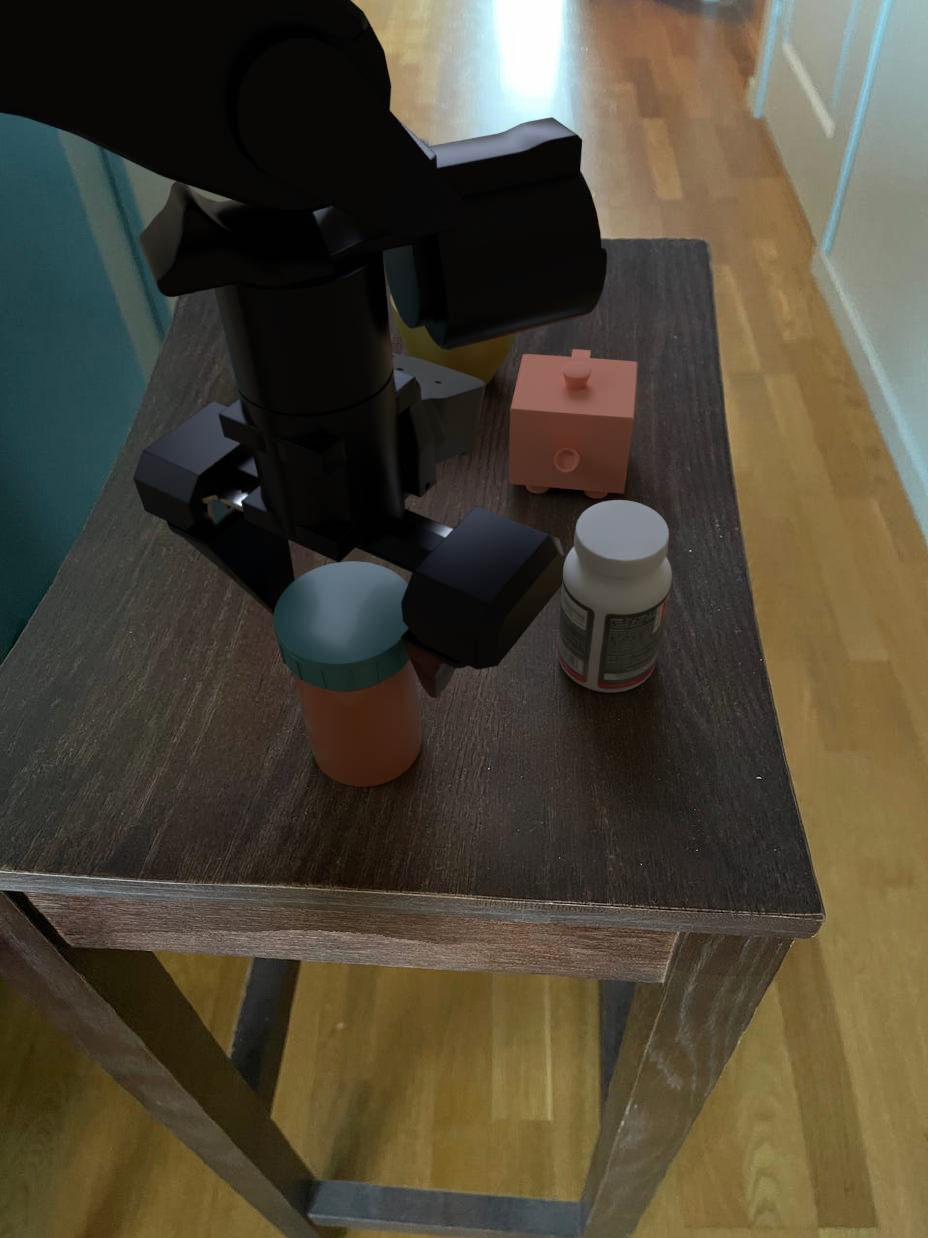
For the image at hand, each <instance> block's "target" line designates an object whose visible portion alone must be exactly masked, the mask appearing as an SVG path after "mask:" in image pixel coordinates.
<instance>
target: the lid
mask: <svg viewBox="0 0 928 1238" xmlns="http://www.w3.org/2000/svg"><path fill="white" fill-rule="evenodd" d="M407 586H408V582H406V580H405V579H404V578H403V577H402V576H401V575H399V574H398V573H396V572H395V571H394V570H391V569H389V568H388V567H385V566H383V565H380V564H378V563H372V562H367V561H360V560H359V561H357V560H351V561H350V560H348V561H346V560H345V561H341V562H340V563H338V562H332V563H328V564H324V565H321V566H318V567H316V568H314V569H311V570H309V571H307V572H305V573H304V574H302V575H300V576H299V577H297V578H295V581H294V582H292V583H291V584H290V585H289V586H288V587H287V588H286V589H285V591H284V592H283V593H282V595H281V596H280V598H279V600H278V602H277V604H276V607H275V611H274V616H273V629H274V633H275V636H276V640H277V645H278V649H279V652H280V656H281V660H282V663H283V665H285V666H286V667H287V668H288V669H289V671H290V672H291V673H293V674H295V675H296V676H297V677H298V678H299V680H303V681H304V682H306V683H308V684H310V685H312V686H315V687H318V688H322V689H324V690H325V689H327V690H335V691H350V690H351V691H354V690H358V689H363V688H367V687H370V686H373V685H376V684H378V683H382V682H383V681H385V680H387V679H388V678H390V677H392V676H393V675H394V674H396V673H397V672H398V671H400V670H401V669H403V668H404V666H405V665H406V663H407V662H408V661H409V660H410V658H409V656H408V654H407V652H406V650H405V648H404V646H403V643H402V641H401V636H402V635H403V634H404V633H405V632H406V631H407V629H408V627H407V626H406V624H405V623H404V622H403V617H402V607H401V601H402V598H403V596H404V593H405V591H406V588H407ZM293 674H292V675H293Z"/></svg>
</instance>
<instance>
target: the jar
mask: <svg viewBox="0 0 928 1238" xmlns="http://www.w3.org/2000/svg"><path fill="white" fill-rule="evenodd" d="M291 673H292V672H291ZM292 677H293V682H294V685H295V689H296V694H297V697H298V702H299V705H300V709H301V714H302V717H303V721H304V725H305V729H306V733H307V737H308V741H309V745H310V749H311V753H312V755H313V760H314V761H315V763H316V765H317V766H318V768H319V769H320V770H321V772H323V773H324V774H325V775H326V776H327V777H329V778H330V779H331V780H333V781H335V782H337V783H340V784H341V785H346V786H349V787H357V788H369V787H376V786H380V785H384V784H386V783H389V782H391V781H393V780H395V779H397V778H399V777H400V776H401V775H403V774H404V773H405V772H407V770H409V769H410V767H412V765H413V764H414V763H415V761H416V760H417V758H418V756H419V755H420V751H421V749H422V747H423V746H422V745H423V737H424V736H423V727H422V714H421V706H420V705H421V704H420V694H419V684H418V676H417V674H416V672H415V669H414V667H413V665H412V663H411V661H410V660H409V661H408V662H407V663H406V665H405V666H404V668H403V669H401V670H400V671H398V672H397V673H396V674H394V675H393V676H392V677H390V678H388V679H387V680H385V681H383V682H382V683H378V684H376V685H373V686H370V687H367V688H363V689H358V690H354V691H351V690H350V691H335V690H327V689H325V690H324V689H322V688H318V687H315V686H312V685H310V684H308V683H306V682H304V681H303V680H299V678H298V677H297V676H296V675H295V674H293V673H292Z"/></svg>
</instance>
